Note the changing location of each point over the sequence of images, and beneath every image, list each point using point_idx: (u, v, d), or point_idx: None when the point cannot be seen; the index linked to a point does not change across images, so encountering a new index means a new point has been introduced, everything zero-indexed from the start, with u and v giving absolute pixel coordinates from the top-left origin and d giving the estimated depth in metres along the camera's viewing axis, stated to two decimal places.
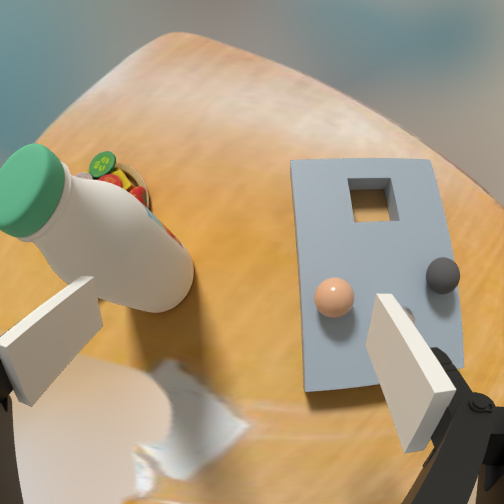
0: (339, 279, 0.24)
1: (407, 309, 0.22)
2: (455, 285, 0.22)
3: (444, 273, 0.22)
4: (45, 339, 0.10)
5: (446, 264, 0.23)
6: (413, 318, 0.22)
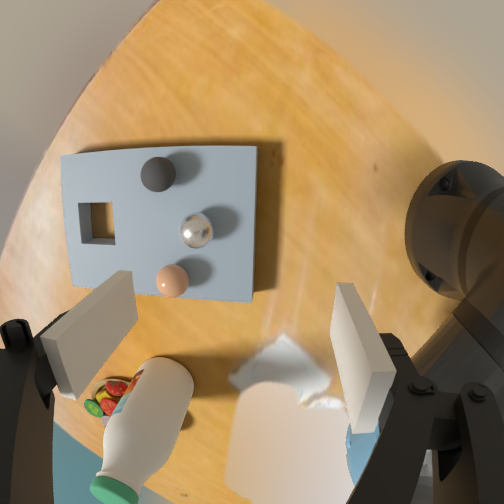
0: (156, 280, 0.29)
1: (182, 225, 0.27)
2: (165, 167, 0.26)
3: (153, 183, 0.26)
4: (90, 332, 0.11)
5: (145, 178, 0.26)
6: (190, 220, 0.27)
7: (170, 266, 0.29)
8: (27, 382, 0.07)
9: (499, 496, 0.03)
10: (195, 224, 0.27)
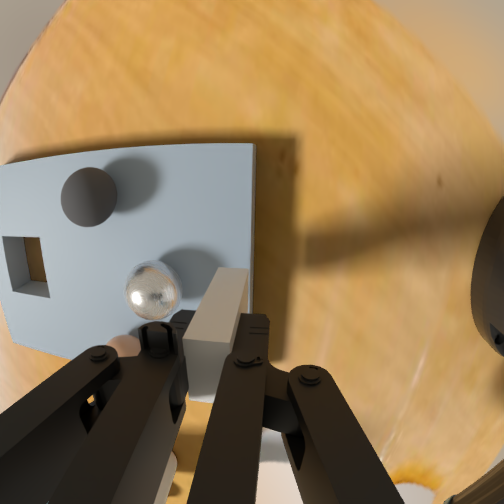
0: None
1: (127, 285, 0.15)
2: (95, 186, 0.14)
3: (75, 214, 0.14)
4: None
5: (64, 206, 0.14)
6: (139, 277, 0.15)
7: (120, 341, 0.17)
8: (160, 398, 0.07)
9: (360, 484, 0.05)
10: (147, 285, 0.15)
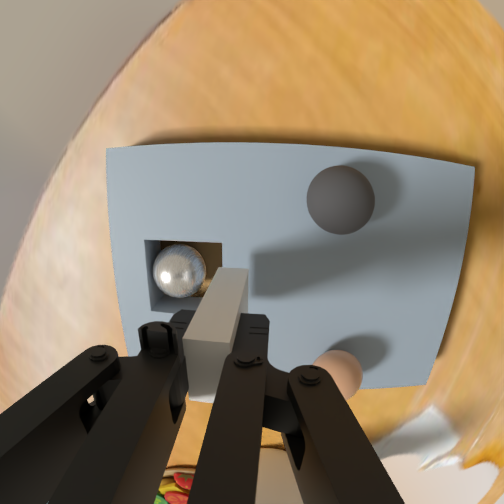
0: None
1: None
2: (369, 190, 0.13)
3: (347, 220, 0.13)
4: None
5: (330, 209, 0.13)
6: None
7: (340, 358, 0.16)
8: (160, 398, 0.07)
9: (360, 484, 0.05)
10: None
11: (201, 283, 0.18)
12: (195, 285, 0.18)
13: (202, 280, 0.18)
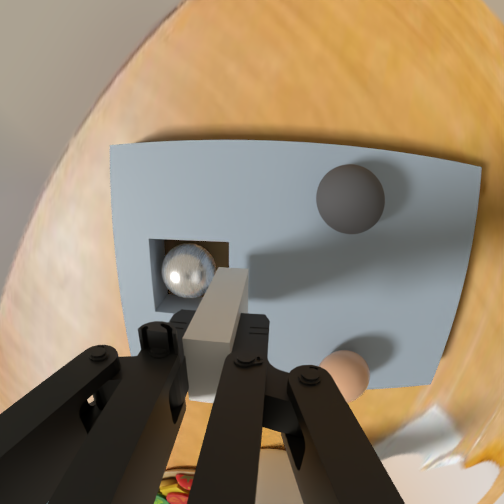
0: None
1: None
2: (380, 190, 0.13)
3: (358, 220, 0.13)
4: None
5: (341, 208, 0.13)
6: None
7: (348, 358, 0.16)
8: (160, 398, 0.07)
9: (360, 484, 0.05)
10: (165, 256, 0.18)
11: None
12: None
13: None
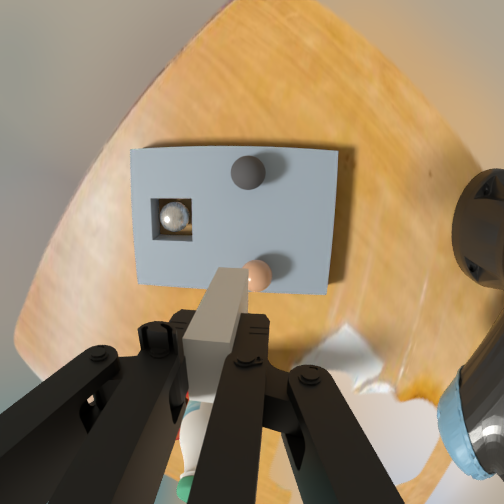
0: None
1: None
2: (259, 166, 0.27)
3: (247, 181, 0.27)
4: None
5: (238, 176, 0.27)
6: (165, 205, 0.33)
7: (256, 261, 0.31)
8: (160, 398, 0.07)
9: (360, 484, 0.05)
10: (162, 209, 0.32)
11: (188, 221, 0.33)
12: (186, 222, 0.33)
13: None
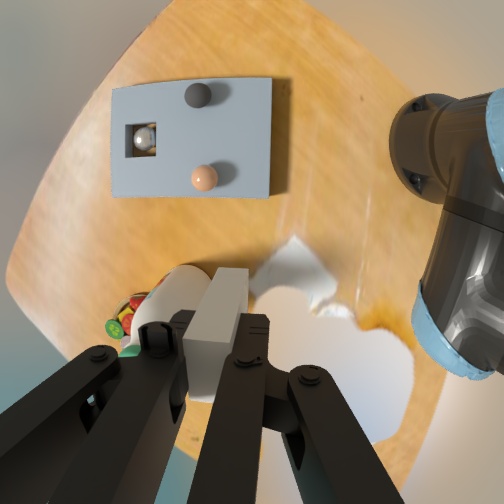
0: (192, 175, 0.36)
1: None
2: (205, 88, 0.32)
3: (195, 98, 0.32)
4: None
5: (189, 95, 0.32)
6: None
7: (204, 165, 0.36)
8: (160, 398, 0.07)
9: (360, 484, 0.05)
10: None
11: None
12: (155, 141, 0.38)
13: None
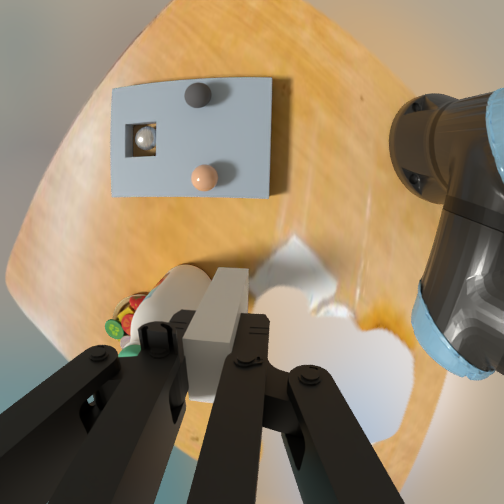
0: (192, 175, 0.36)
1: None
2: (205, 88, 0.32)
3: (195, 98, 0.32)
4: None
5: (189, 95, 0.32)
6: None
7: (204, 164, 0.36)
8: (160, 398, 0.07)
9: (360, 484, 0.05)
10: (137, 132, 0.37)
11: None
12: None
13: None
